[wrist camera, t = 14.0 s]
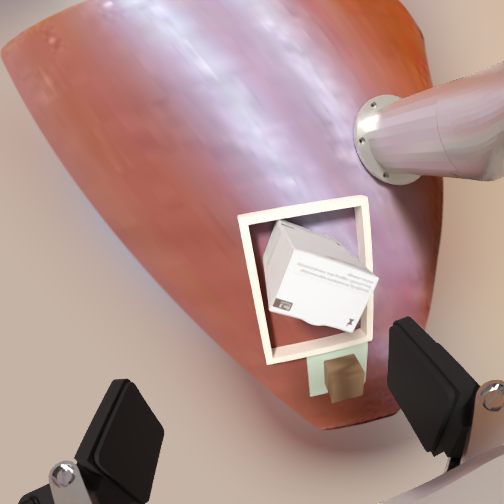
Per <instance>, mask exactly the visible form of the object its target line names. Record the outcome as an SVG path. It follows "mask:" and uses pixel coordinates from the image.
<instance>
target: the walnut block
mask: <svg viewBox="0 0 504 504" xmlns="http://www.w3.org/2000/svg"><path fill="white" fill-rule="evenodd" d="M364 377H365V372H364V370H363V368H362V366H361V365H360V363H359V361H358V360H357V358H356V356H355V355H354V354H350V355H346V356H342V357H338V358H334V359H330V360H326V361H324V383H325V386H326V388H327V391H328V394H329V396H330V399H331V402H332V403H336V402H340V401H344V400H348V399H351V398H355V397H358V396H362V395H363V388H364Z"/></svg>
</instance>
